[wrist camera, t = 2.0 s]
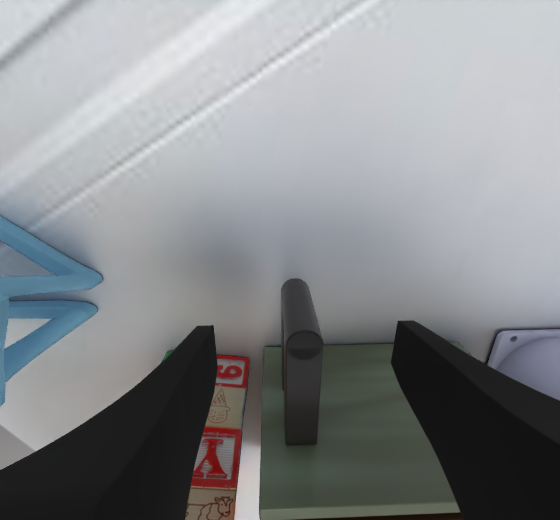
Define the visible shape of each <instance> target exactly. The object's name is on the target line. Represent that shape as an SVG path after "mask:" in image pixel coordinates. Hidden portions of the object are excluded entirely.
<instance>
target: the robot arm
mask: <svg viewBox="0 0 560 520" xmlns="http://www.w3.org/2000/svg"><path fill="white" fill-rule="evenodd" d="M391 365H392V367H393V370H394V373H395V376H396V378H397V381H398V383H399V386H400V388H401V390H402V392H403V394H404V395H405V397H406V399H407V401H408V403H409V405H410V407H411V409H412V410H413V412H414V414H415V416H416V418H417V420H418V421H419V423H420V425H421V427H422V429H423V431H424V432H425V434H426V436H427V438H428V440H429V442H430V443H431V445H432V447H433V449H434V451H435V453H436V455H437V457H438V460H439V462H440V464H441V467H442V469H443V471H444V474H445V476H446V478H447V481H448V483H449V485H450V488H451V490H452V492H453V495H454V497H455V500H456V502H457V505H458V507H459V510H460V512H461V515H462V517H463V520H560V329H552V330H511V331H502V332H500V333H499V334H498V335H497V337H496V340H495V343H494V346H493V349H492V352H491V355H490V358H489V361H488V364H487V365H486V364H484V363H483V362H481V361H479V360H477V359H476V358H474V357H472V356H471V355H469V354H467V353H466V352H464V351H462V350H461V349H459V348H457V347H456V346H454V345H453V344H451V343H449V342H448V341H446V340H445V339H443V338H442V337H440V336H438V335H437V334H435V333H434V332H432V331H430V330H429V329H427V328H426V327H424V326H422V325H421V324H419V323H417V322H415V321H398V323H397V329H396V335H395V341H394V346H393V352H392V358H391ZM217 370H218V364H217V355H216V345H215V336H214V327H213V325H211V326H197V327H196V328H195V329H194V330H193V331H192V332H191V333H190V334H189V335H188V336H187V337H186V338H185V339H184V340H183V341H182V343H181V344H180V345H179V346H178V347H177V348H176V349H175V350H174V351H173V352H172V353H171V354H170V355H169V356H168V357H167V358H166V359H165V360H164V361H163V362H162V363H161V364H160V365H159V366H158V367H156V368H155V369H154V370H153V371H152V372H151V373H150V374H149V375H148V376H147V377H146V378H144V379H143V380H142V381H141V382H140V383H139V384H137V385H136V386H135V387H134V388H132V389H131V390H130V391H129V392H127V393H126V394H125V395H123V396H122V397H121V398H120V399H118V400H117V401H115V402H114V403H113V404H111V405H110V406H108V407H107V408H105V409H104V410H102V411H101V412H100V413H98V414H97V415H95V416H94V417H92V418H91V419H89V420H88V421H86V422H85V423H83V424H82V425H80V426H79V427H77V428H75V429H74V430H72V431H70V432H69V433H67V434H66V435H64V436H62V437H60V438H59V439H57V440H55V441H54V442H52V443H50V444H48V445H47V446H45V447H43V448H41V449H40V450H38V451H36V452H34V453H32V454H31V455H29V456H27V457H25V458H23V459H21V460H19V461H17V462H15V463H13V464H12V465H9V466H7V467H6V468H4V469H2V470H0V520H185V517H186V511H187V505H188V499H189V494H190V488H191V483H192V477H193V472H194V466H195V462H196V458H197V454H198V450H199V446H200V443H201V439H202V435H203V432H204V428H205V425H206V421H207V417H208V414H209V410H210V406H211V403H212V399H213V395H214V390H215V384H216V377H217Z"/></svg>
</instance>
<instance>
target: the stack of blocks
mask: <svg viewBox="0 0 560 520" xmlns="http://www.w3.org/2000/svg"><path fill="white" fill-rule="evenodd" d="M172 352H173V351H168V352H167V353H166V355H165V357H164V359H163V360H162V362H163V361H164V360H165V359H166V358H167V357H168V356H169V355H170V354H171V353H172ZM162 362H161V363H162ZM217 364H218V370H217V377H216V384H215V390H214V395H213V399H212V403H211V406H210V410H209V414H208V417H207V421H206V425H205V428H204V432H203V435H202V439H201V443H200V446H199V450H198V454H197V458H196V462H195V466H194V472H193V477H192V483H191V488H190V494H189V499H188V505H187V511H186V517H185V520H234V514H235V502H236V492H237V484H238V474H239V464H240V455H241V443H242V424H243V415H244V409H245V402H246V395H247V386H248V375H249V364H250V359H249V358H246V357H236V356H224V355H217Z"/></svg>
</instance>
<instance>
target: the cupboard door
mask: <svg viewBox="0 0 560 520" xmlns="http://www.w3.org/2000/svg"><path fill="white" fill-rule="evenodd" d="M449 343H451V344H453V345H454V346H456V347H457V348H459V349H461V350H462V351H464V352H466V353H467V354H469V355H470V353H469V352H468V351H467V350H466V349H465V348H464V347H463V346H462V345H461V344H460V343H459V342H449ZM393 346H394V344H361V345H323V340H322V336H321V332H320V328H319V325H318V321H317V317H316V313H315V310H314V306H313V302H312V298H311V295H310V291H309V287H308V285H307V284H306V282H304V281H303V280H301V279H296V278H295V279H290V280H288V281H286V282H285V283H284V284H283V286H282V288H281V347H264V358H263V393H262V427H261V461H260V496H259V517H260V520H293V519H317V518H340V517H364V516H387V515H411V514H434V513H458V512H460V510H459V507H458V505H457V502H456V500H455V497H454V495H453V492H452V490H451V488H450V485H449V483H448V481H447V478H446V476H445V474H444V471H443V469H442V467H441V464H440V462H439V460H438V457H437V455H436V453H435V451H434V449H433V447H432V445H431V443H430V442H429V440H428V438H427V436H426V434H425V432H424V431H423V429H422V427H421V425H420V423H419V421H418V420H417V418H416V416H415V414H414V412H413V410H412V409H411V407H410V405H409V403H408V401H407V399H406V397H405V395H404V394H403V392H402V390H401V388H400V386H399V383H398V381H397V378H396V376H395V373H394V370H393V367H392V365H391V358H392V352H393Z"/></svg>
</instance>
